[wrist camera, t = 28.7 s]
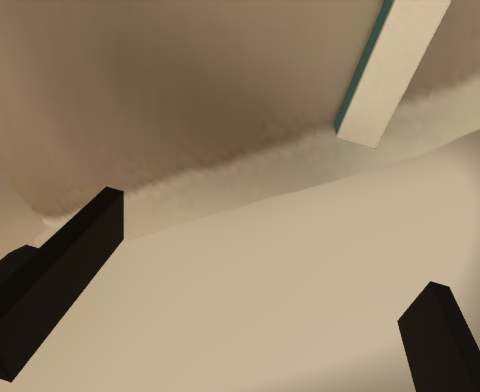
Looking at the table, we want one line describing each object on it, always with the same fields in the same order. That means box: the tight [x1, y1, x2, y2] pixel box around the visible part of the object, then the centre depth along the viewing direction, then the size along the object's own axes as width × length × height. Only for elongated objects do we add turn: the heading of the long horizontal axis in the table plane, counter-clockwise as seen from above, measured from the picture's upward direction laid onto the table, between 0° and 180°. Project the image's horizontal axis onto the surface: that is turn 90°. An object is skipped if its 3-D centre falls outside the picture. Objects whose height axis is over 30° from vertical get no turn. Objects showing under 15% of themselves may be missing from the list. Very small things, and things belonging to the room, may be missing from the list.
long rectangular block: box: [334, 0, 452, 148], centre depth 30 cm, size 22×4×5 cm, turn 167°
